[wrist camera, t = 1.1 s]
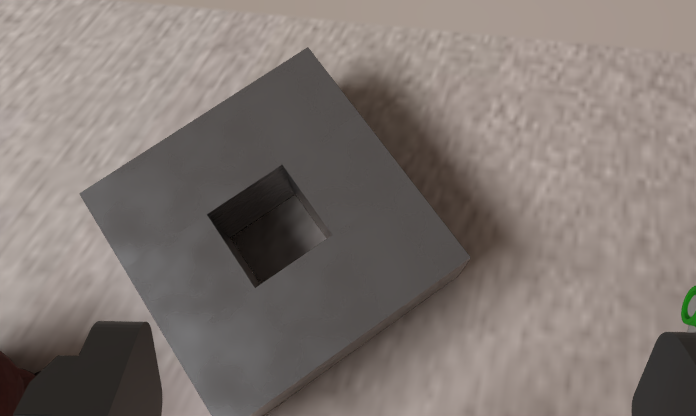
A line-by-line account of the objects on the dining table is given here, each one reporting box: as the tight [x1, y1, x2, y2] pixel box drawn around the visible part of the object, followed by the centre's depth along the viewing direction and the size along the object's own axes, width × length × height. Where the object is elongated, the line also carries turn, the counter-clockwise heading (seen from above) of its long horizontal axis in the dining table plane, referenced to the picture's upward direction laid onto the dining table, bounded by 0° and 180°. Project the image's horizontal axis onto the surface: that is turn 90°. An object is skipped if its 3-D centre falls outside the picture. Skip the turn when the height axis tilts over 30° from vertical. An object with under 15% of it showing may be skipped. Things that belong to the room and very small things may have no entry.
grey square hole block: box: [80, 47, 471, 416], centre depth 34 cm, size 14×14×5 cm
